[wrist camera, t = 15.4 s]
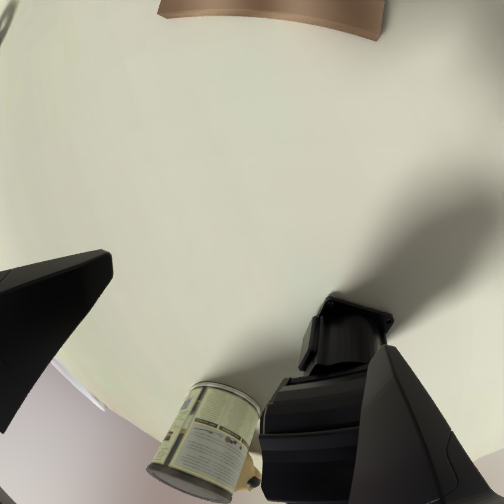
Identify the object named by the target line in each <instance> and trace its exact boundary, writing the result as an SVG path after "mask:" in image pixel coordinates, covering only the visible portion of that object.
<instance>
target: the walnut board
mask: <svg viewBox="0 0 504 504" xmlns="http://www.w3.org/2000/svg"><path fill="white" fill-rule="evenodd" d="M384 4H385V0H161V2H160V6H159V9H158V12H157V14H158V15H160V16H162V17H164V18H167V19H169V18H179V17H193V16H247V17H261V18H271V19H280V20H288V21H294V22H301V23H306V24H312V25H317V26H322V27H326V28H331V29H335V30H339V31H343V32H347V33H350V34H354V35H357V36H361V37H364V38H367V39H370V40H373V41H377V39H378V38H379V36H380V32H381V25H382V18H383V11H384Z"/></svg>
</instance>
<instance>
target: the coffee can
mask: <svg viewBox="0 0 504 504" xmlns="http://www.w3.org/2000/svg"><path fill="white" fill-rule="evenodd" d="M260 414H261V412H260V408H259V406H258V405H257V403H256V402H255V401H254V400H253V399H252V398H250V397H249V396H248V395H246V394H245V393H243V392H241V391H239V390H237V389H234V388H232V387H229V386H226V385H222V384H218V383H213V382H202V383H198V384H196V385H194V386H193V387H192V388H191V390H190V393H189V395H188V397H187V398H186V400H185V402H184V404H183V406H182V407H181V409H180V411H179V413H178V415H177V417H176V418H175V420H174V422H173V424H172V426H171V428H170V429H169V431H168V433H167V435H166V437H165V439H164V440H163V442H162V444H161V446H160V448H159V449H158V452H157V453H156V455H155V457H154V459H153V461H152V462H151V464H150V465H148V467H147V468H146V471H147V472H148V473H149V474H150V475H152V476H153V477H154V478H156V479H157V480H159V481H161V482H163V483H164V484H166V485H168V486H170V487H172V488H174V489H177V490H179V491H181V492H183V493H186V494H189V495H191V496H194V497H197V498H200V499H204V500H207V501H211V502H216V503H224V504H228V503H230V502H231V500H232V494H233V492H234V489H235V486H236V484H237V481H238V478H239V475H240V473H241V470H242V467H243V464H244V461H245V458H246V455H247V452H248V449H249V446H250V443H251V441H252V437H253V434H254V431H255V428H256V425H257V422H258V419H259V417H260Z"/></svg>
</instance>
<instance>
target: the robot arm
mask: <svg viewBox="0 0 504 504" xmlns="http://www.w3.org/2000/svg"><path fill="white" fill-rule="evenodd" d="M112 278H113V263H112V255H111V253H109V252H107V251H105V250H102V249H99V250H94V251H89V252H84V253H80V254H75V255H70V256H66V257H61V258H57V259H52V260H48V261H43V262H39V263H34V264H30V265H26V266H22V267H17V268H13V269H9V270H5V271H1V272H0V432H1V433H2V434H4V433H5V431H6V429H7V428H8V426H9V424H10V423H11V421H12V419H13V417H14V416H15V414H16V413H17V411H18V409H19V408H20V406H21V405H22V403H23V401H24V400H25V398H26V397H27V395H28V393H29V392H30V390H31V389H32V387H33V386H34V384H35V383H36V382H37V380H38V378H39V377H40V376H41V374H42V373H43V371H44V370H45V369H46V367H47V365H48V364H49V363H50V362H51V360H52V359H53V358H54V356H55V355H56V354H57V352H58V351H59V350H60V348H61V347H62V346H63V344H64V343H65V342H66V340H67V339H68V338H69V336H70V335H71V334H72V333H73V331H74V330H75V329H76V328H77V326H78V325H79V324H80V323H81V321H82V320H83V319H84V318H85V316H86V315H87V314H88V313H89V311H90V310H91V309H92V307H93V306H94V304H95V303H96V301H97V300H98V298H99V297H100V295H101V294H102V293H103V291H104V290H105V288H106V287H107V285H108V284H109V283H110V281H111V280H112ZM329 302H332V303H333V304H328V303H329ZM388 319H390V320H389V321H386V320H388ZM393 322H394V318H393V316H392V315H391V314H388V313H385V312H381V311H378V310H374V309H371V308H368V307H364V306H361V305H357V304H354V303H351V302H347V301H344V300H341V299H337V298H334V297H328V298H326V299H325V301H324V303H323V305H322V308H321V310H320V312H319V314H318V316H314V317H313V318H312V320H311V322H310V324H309V326H308V329H307V331H306V333H305V335H304V339H303V344H302V350H301V355H300V360H299V365H298V368H299V370H300V371H303V372H304V376H303V377H299V378H291V377H290V378H284V379H283V381H282V382H281V384H280V386H279V387H278V389H277V390H276V392H275V393H274V395H273V396H272V398H271V400H270V401H269V403H268V404H267V406H266V407H265V409H264V411H263V413H262V415H261V417H260V435H259V441H260V445H261V449H262V459H263V468H262V480H261V488H262V491H263V493H264V495H265V497H266V499H267V500H268V501H273V502H285V503H286V504H504V497H502V496H500V495H498V494H496V493H495V492H494V491H493V490H492V489H491V488H490V487H489V485H488V484H487V483H486V481H485V479H484V478H483V477H482V475H481V474H480V472H479V471H478V469H477V468H476V467H475V465H474V464H473V462H472V461H471V459H470V458H469V456H468V455H467V453H466V452H465V450H464V449H463V447H462V445H461V444H460V442H459V441H458V439H457V437H456V436H455V434H454V432H453V431H451V428H450V426H449V425H448V423H447V421H446V420H445V418H444V417H443V415H442V414H441V412H440V410H439V409H438V407H437V406H436V404H435V403H434V401H433V400H432V398H431V397H430V395H429V394H428V392H427V391H426V389H425V388H424V386H423V385H422V384H421V382H420V381H419V379H418V378H417V376H416V375H415V373H414V372H413V371H412V369H411V368H410V366H409V365H408V364H407V362H406V361H405V359H404V358H403V357H402V355H401V354H400V352H399V351H398V350H397V348H396V347H394V346H390V345H387V339H386V334H387V332H388V330H389V329H390V327H391V326H392V324H393ZM0 504H16V503H15V502H14V501H13V500H12V499H11V498H10V497H9V496H8V495H7V494H6V493H5V491H4V490H3V489H2V488H1V487H0Z"/></svg>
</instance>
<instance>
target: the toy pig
mask: <svg viewBox="0 0 504 504" xmlns="http://www.w3.org/2000/svg"><path fill="white" fill-rule="evenodd" d="M248 451H249V449H248ZM260 482H261V473H260V472H259V470H258V469H257V468H256V467H255V466H254V464H253V460H252V458H251V456H250V455H249V453H248V452H247V455H246V458H245V461H244V464H243V467H242V470H241V473H240V475H239V478H238V481H237V484H236V486H235V489H234V492H236V491H250V490H252V489H253V488H255V487H257V486H259V484H260Z"/></svg>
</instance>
